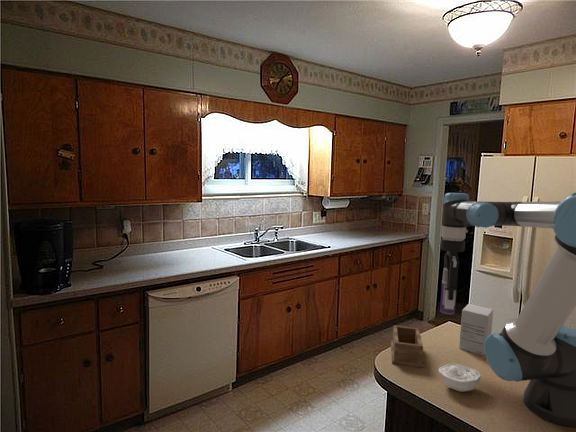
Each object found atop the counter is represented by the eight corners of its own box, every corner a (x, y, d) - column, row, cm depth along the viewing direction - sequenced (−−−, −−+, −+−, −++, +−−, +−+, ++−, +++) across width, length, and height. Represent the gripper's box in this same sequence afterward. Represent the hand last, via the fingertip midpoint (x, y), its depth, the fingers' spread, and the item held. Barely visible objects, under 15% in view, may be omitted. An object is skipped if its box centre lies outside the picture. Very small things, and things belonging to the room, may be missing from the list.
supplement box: (464, 340, 146) (468, 303, 144) (490, 347, 141) (494, 308, 139) (458, 348, 139) (461, 309, 137) (484, 356, 134) (488, 315, 132)
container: (441, 308, 133) (445, 266, 132) (456, 311, 131) (459, 269, 129) (438, 312, 130) (441, 269, 128) (452, 315, 127) (456, 271, 125)
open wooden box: (423, 367, 124) (425, 347, 124) (392, 363, 127) (393, 343, 126) (418, 345, 140) (419, 327, 140) (390, 342, 143) (391, 324, 142)
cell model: (487, 396, 109) (490, 374, 108) (448, 398, 108) (450, 376, 107) (467, 377, 119) (469, 357, 118) (431, 379, 118) (432, 358, 117)
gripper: (471, 244, 118) (464, 316, 120) (459, 235, 135) (454, 298, 138) (445, 242, 120) (439, 313, 122) (437, 234, 137) (432, 296, 139)
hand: (447, 305), depth 130 cm, fingers closed on container, 5 cm apart
